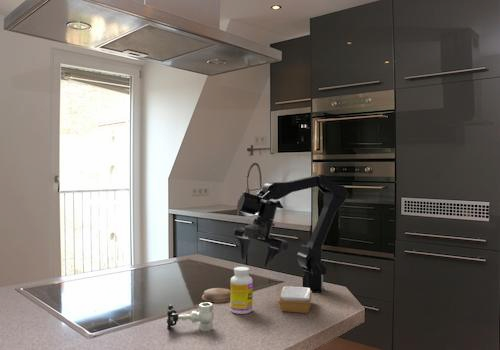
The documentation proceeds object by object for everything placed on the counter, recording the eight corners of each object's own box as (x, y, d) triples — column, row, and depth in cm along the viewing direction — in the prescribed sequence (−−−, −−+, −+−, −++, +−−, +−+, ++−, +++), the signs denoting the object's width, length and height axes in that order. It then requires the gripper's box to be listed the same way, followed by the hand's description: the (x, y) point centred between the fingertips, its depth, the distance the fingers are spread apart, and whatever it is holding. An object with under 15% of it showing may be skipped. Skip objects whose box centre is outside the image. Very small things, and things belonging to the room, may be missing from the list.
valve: (213, 324, 113) (169, 325, 112) (213, 300, 113) (169, 301, 112) (213, 333, 107) (166, 334, 106) (213, 308, 107) (166, 309, 106)
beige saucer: (237, 295, 140) (237, 289, 140) (225, 304, 130) (225, 298, 130) (210, 291, 143) (210, 286, 143) (196, 300, 133) (196, 294, 133)
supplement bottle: (249, 315, 120) (250, 271, 120) (227, 313, 121) (228, 270, 121) (254, 308, 127) (254, 266, 126) (233, 306, 128) (233, 265, 128)
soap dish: (311, 315, 121) (311, 298, 121) (277, 313, 123) (278, 296, 123) (311, 302, 133) (312, 286, 133) (281, 300, 135) (281, 285, 135)
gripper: (230, 209, 138) (218, 254, 137) (278, 222, 128) (266, 271, 127) (247, 213, 148) (236, 255, 146) (293, 225, 138) (281, 271, 136)
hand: (254, 263), depth 139 cm, fingers open, 9 cm apart
